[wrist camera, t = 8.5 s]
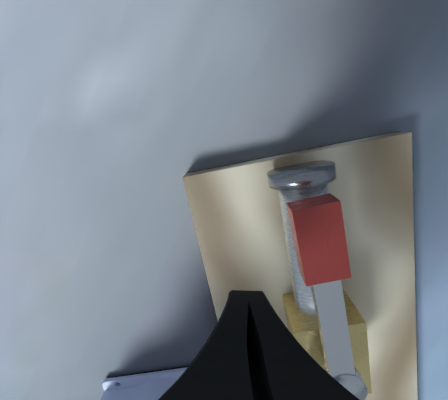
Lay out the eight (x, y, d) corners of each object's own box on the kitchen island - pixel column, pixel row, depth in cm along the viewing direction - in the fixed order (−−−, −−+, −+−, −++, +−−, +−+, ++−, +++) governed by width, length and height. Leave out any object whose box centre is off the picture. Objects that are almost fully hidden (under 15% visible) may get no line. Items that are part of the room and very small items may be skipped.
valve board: (248, 432, 27) (249, 450, 25) (186, 173, 20) (182, 177, 19) (407, 414, 25) (418, 431, 24) (398, 131, 19) (411, 132, 17)
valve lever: (360, 387, 17) (371, 410, 16) (321, 393, 17) (329, 416, 16) (331, 192, 14) (342, 200, 12) (284, 203, 14) (289, 212, 13)
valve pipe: (305, 433, 25) (324, 515, 20) (260, 169, 19) (271, 187, 13) (353, 427, 25) (386, 510, 20) (325, 157, 18) (362, 170, 13)
